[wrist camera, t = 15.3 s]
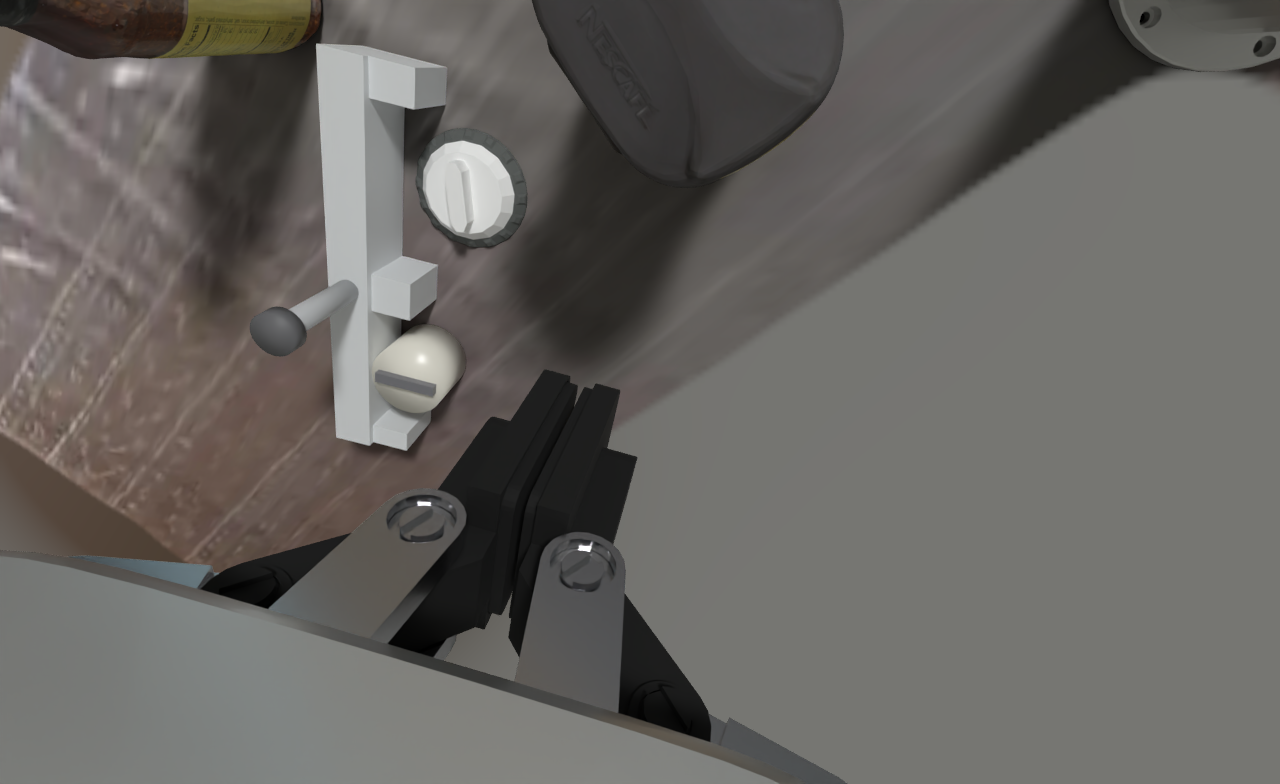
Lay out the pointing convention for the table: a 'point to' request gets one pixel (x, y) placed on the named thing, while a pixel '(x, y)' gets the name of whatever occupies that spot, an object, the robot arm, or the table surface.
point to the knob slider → (419, 368)
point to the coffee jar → (696, 76)
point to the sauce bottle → (164, 26)
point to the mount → (363, 235)
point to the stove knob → (471, 187)
